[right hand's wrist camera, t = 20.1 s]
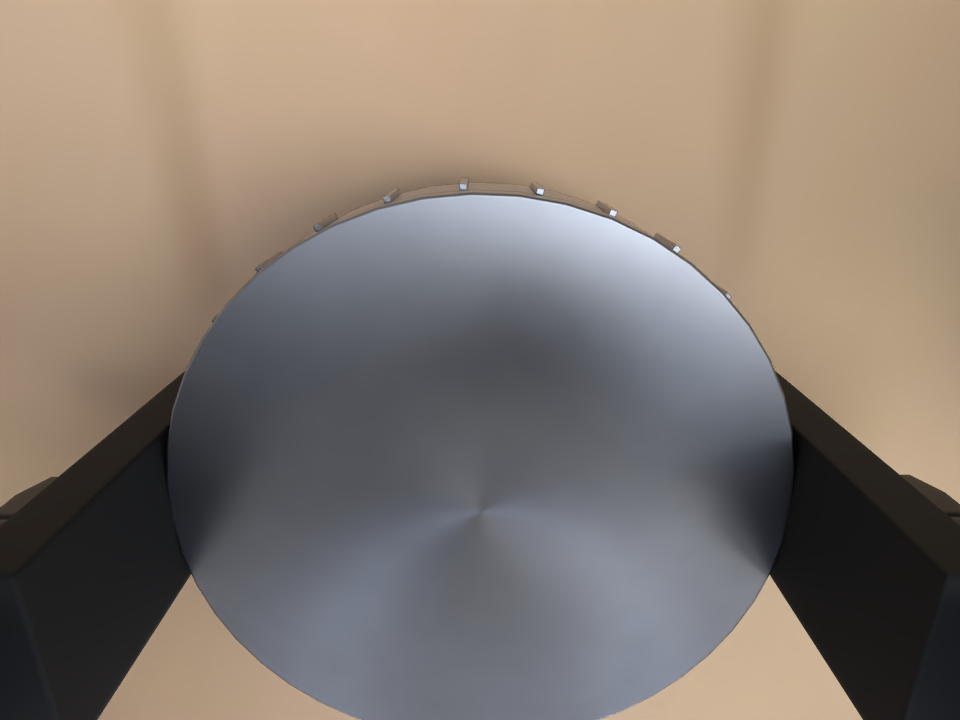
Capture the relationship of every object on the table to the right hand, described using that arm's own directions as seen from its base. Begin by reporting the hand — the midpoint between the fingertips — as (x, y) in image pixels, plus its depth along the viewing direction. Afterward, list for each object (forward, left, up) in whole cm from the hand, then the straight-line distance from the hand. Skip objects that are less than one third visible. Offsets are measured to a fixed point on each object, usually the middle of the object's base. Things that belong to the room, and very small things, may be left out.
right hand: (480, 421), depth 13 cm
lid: (0, 0, +3) cm, 3 cm away
